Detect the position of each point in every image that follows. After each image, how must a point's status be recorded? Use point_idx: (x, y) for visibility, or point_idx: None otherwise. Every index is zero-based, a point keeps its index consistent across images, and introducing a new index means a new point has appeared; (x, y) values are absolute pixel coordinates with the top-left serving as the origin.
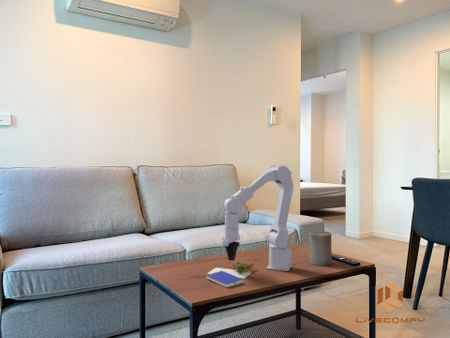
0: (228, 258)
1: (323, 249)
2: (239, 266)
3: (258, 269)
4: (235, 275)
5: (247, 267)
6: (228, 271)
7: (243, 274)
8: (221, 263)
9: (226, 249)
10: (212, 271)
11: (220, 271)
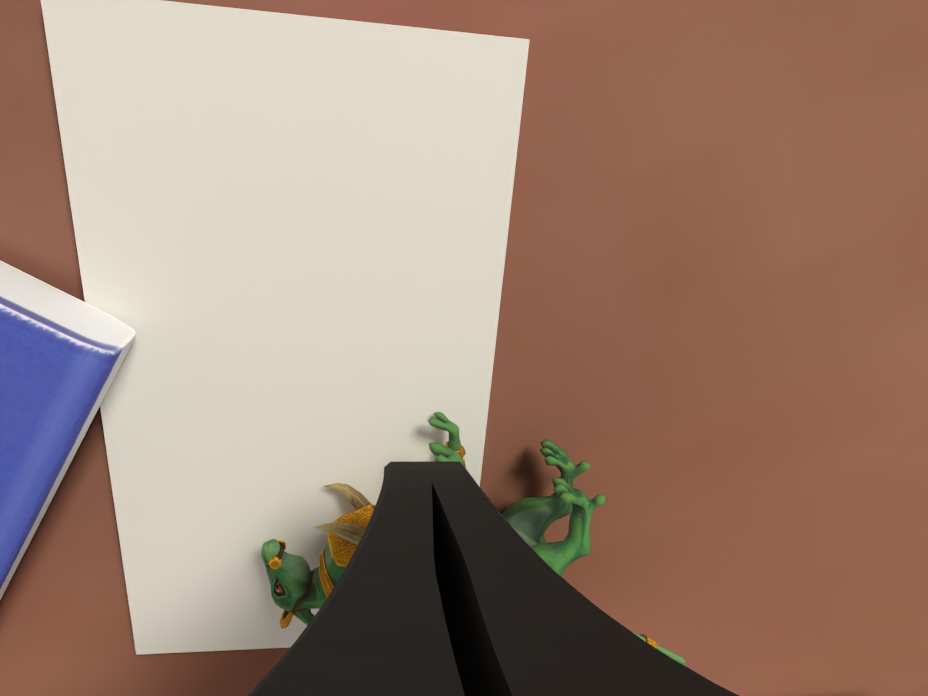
0: (383, 478)
1: None
2: None
3: None
4: (194, 522)
5: None
6: (356, 358)
7: None
8: (894, 28)
9: (288, 667)
10: (224, 65)
11: (25, 339)
